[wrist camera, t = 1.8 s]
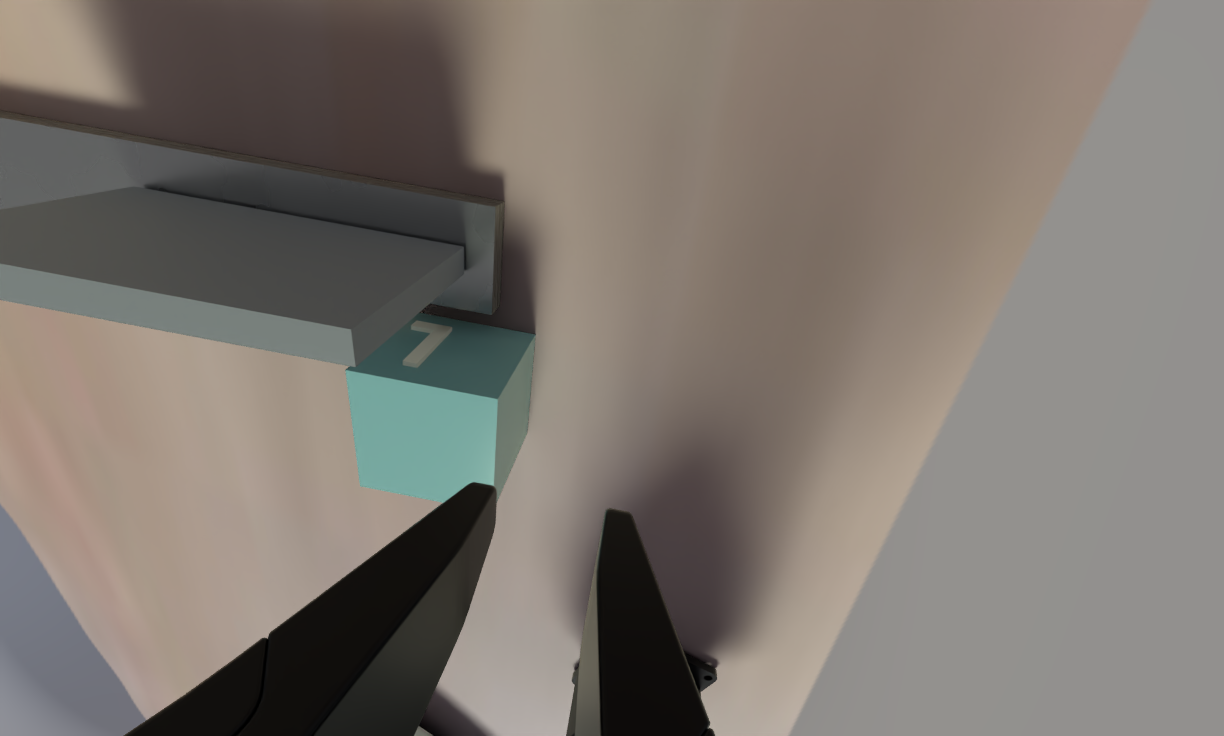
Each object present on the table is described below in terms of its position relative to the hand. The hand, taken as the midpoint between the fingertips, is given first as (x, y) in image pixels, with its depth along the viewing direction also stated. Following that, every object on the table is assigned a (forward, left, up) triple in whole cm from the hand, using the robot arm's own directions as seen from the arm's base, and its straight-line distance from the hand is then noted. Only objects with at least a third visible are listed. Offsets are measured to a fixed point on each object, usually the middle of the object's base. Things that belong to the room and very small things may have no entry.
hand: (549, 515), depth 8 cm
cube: (+3, +7, -12) cm, 14 cm away
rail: (+14, +6, -12) cm, 19 cm away
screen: (+11, +4, -11) cm, 16 cm away
